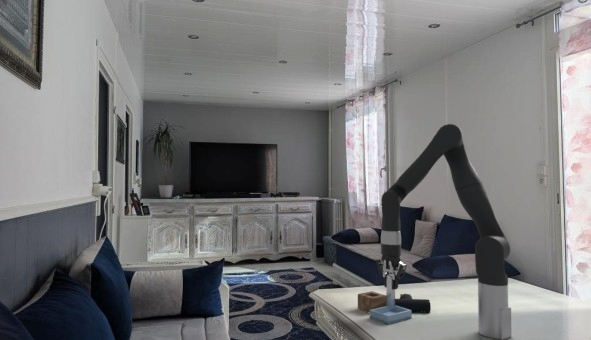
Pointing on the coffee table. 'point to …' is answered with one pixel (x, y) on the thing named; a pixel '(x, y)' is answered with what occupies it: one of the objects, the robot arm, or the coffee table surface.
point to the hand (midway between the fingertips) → (390, 287)
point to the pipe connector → (413, 303)
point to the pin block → (371, 301)
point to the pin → (390, 293)
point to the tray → (390, 314)
